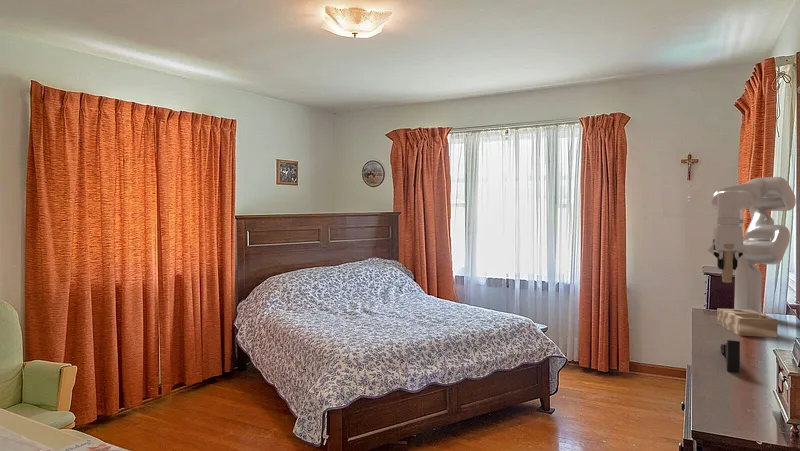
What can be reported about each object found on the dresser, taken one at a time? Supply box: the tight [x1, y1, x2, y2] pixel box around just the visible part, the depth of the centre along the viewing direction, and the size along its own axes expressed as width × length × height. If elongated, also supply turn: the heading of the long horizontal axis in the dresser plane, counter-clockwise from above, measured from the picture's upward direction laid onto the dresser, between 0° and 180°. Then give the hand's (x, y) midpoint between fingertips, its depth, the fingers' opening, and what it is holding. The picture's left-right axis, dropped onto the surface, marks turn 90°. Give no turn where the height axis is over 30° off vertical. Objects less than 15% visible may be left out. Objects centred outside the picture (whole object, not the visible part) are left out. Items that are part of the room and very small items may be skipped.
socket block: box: [716, 308, 779, 338], centre depth 200 cm, size 20×12×6 cm, turn 170°
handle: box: [721, 244, 734, 284], centre depth 213 cm, size 5×6×15 cm
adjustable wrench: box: [719, 339, 741, 374], centre depth 158 cm, size 8×3×25 cm
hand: (727, 268), depth 213 cm, fingers closed on handle, 3 cm apart
